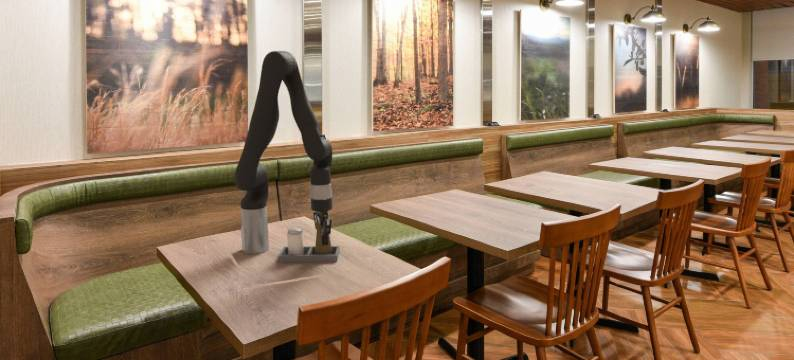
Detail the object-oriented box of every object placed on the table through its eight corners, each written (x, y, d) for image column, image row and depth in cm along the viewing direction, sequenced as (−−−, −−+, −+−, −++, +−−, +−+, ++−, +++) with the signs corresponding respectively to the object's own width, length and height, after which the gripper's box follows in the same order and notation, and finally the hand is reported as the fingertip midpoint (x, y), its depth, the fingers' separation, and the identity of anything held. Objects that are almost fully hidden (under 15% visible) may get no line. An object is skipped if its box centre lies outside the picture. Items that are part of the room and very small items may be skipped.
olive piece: (328, 253, 191) (327, 223, 189) (312, 252, 192) (311, 222, 190) (334, 248, 197) (333, 218, 195) (318, 247, 198) (317, 218, 196)
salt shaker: (290, 260, 191) (289, 232, 189) (286, 255, 196) (285, 228, 194) (306, 258, 194) (305, 230, 192) (301, 253, 199) (300, 226, 197)
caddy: (278, 264, 190) (278, 256, 189) (284, 254, 200) (283, 246, 200) (337, 263, 190) (337, 255, 190) (339, 253, 201) (339, 246, 200)
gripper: (305, 193, 196) (307, 239, 199) (317, 201, 183) (319, 250, 186) (325, 191, 199) (326, 236, 202) (338, 199, 186) (340, 247, 190)
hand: (323, 243), depth 194 cm, fingers closed on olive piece, 4 cm apart
